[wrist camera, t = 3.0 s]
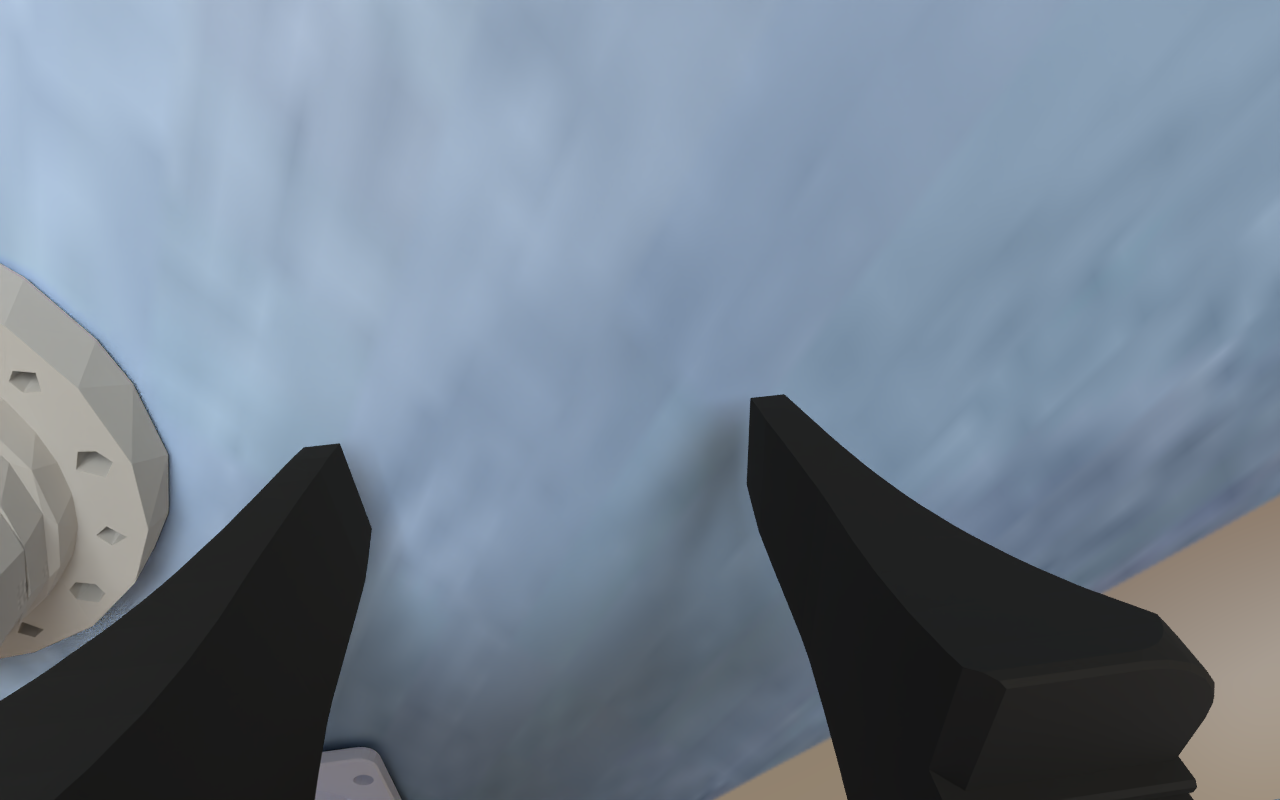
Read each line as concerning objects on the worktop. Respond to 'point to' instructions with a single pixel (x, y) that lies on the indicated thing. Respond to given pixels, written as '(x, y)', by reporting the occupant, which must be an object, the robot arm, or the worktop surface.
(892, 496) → the robot arm
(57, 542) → the mechanical component
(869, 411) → the worktop surface
